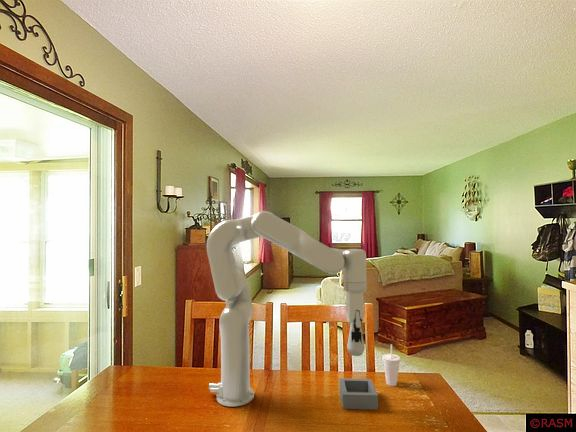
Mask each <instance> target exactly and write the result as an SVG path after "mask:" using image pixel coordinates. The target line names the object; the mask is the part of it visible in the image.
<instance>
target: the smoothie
mask: <svg viewBox="0 0 576 432" xmlns="http://www.w3.org/2000/svg"><path fill="white" fill-rule="evenodd" d="M381 359H382V361H383V368H384V375H385V383H386V385H387V386H390V387H396V386H397V384H398V379H399V377H398V376H399V369H400V363H401V357H400V356H399V355H398V354H394V353H393V344H391V343H390V353H385V354H383V355H382V358H381Z"/></svg>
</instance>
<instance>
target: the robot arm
mask: <svg viewBox="0 0 576 432" xmlns="http://www.w3.org/2000/svg"><path fill="white" fill-rule="evenodd" d="M257 238H263V239H265V240H267V241H269V242H270V243H273V244H274V245H277V246H278V247H280V248H282V249H284V250H286V251H288V252H289V253H290V254H292V255H294V256H296V257H298V258H300V259H302V260H303V261H305V262H307V264H310V265H312V266H314V267H315V268H317V269H318V270H319V269H320V270H321V271H323V272H325V273H327V274H330V275H337V274H339V273H340V272H343V292H345V318H346V320H347V322H348V323H349V325H351V322H352V331H351V339H352V341H353V340H354V341H355V342H359V339H360V341H361V343H362V335H363V333H362V334H361V330H362V324H363V323H364V321H365V307H364V305H365V304H364V303H365V302H364V300H365V298H364V293H366V292H367V287H368V286H367V253H366V250H365V249H361V248H347V249H344V248H343V249H341V248H334V247H329V246H327V245H326V244H324V243H322V242H321V241H318V240H317V239H315V238H313V237H312V236H310V235H309V234H308V233H307V232H306V231H304V230H303V229H301V228H300V227H298V226H296V225H294V224H292V223H290V222H289V221H286V220H284V219H282V218H281V217H279V216H277V215H275V214H274V213H273V212H270V211H268V210H267V211H266V210H261V211H258V212H256V213H255V214H252V215H249V216H244V217H240V218H236V219H227V220H223V221H221V222H219V223H218V224H217V225H215V226H214V227H213V228H212V230H211V231H210V233H209V235H208V237H207V240H206V253H207V258H208V262H209V265H210V272H211V276H212V281H213V286H214V291H215V294H216V295H217V298H219V299H220V300H222V301H225V307H224V309H223V310H222V312H221V314H220V316H219V326H218V327H219V334H220V382H218V383H215V382H213V383H212V382H211V383H210V382H209V385H208V390H209V391H210V393H216V401H217V403H218V404H219V405H222V406H225V407H229V408H230V407H231V408H232V407H233V408H234V407H241V406H244V405H247V404H249V403H250V402H252V401H253V399H254V397H255V391H254V389H253V388H252V387H250V386H251V385H250V381H251V380H250V372H251V371H250V334H249V333H250V332H249V326H250V325H249V324H250V321H251V318H252V317H253V314H254V306H253V300H252V297H251V294H250V288H249V283H248V280H247V277H246V276H245V274H244V272H242V271H241V270H239V269H237V263H236V259H235V255H234V253H233V246H234V245H236V244H239V243H242V242H245V241H249V240H254V239H257ZM354 320H356V322H354ZM354 324H356V325H355V326H354Z"/></svg>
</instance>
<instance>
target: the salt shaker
mask: <svg viewBox="0 0 576 432" xmlns="http://www.w3.org/2000/svg"><path fill="white" fill-rule="evenodd" d="M354 322H356V320H354ZM349 325H350V324H349ZM355 325H356V324H354V326H355ZM351 331H352V322H351V325H350V326H349V331H348V339H347V345H346V348H347V350H348V354H349V355H351V356H354V357H360V356H362V355H363V353H364V351H365V346H366V345H365V341H364V336H363V330H362V329H361V334H362V343H361V341H360V339H359V342H355V341H354V340H353V341H352V339H351Z"/></svg>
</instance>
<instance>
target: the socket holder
mask: <svg viewBox="0 0 576 432" xmlns="http://www.w3.org/2000/svg"><path fill="white" fill-rule="evenodd" d="M338 379H339V385H338V386H339V396H340V401H341V406H342V409H343V410H379V394H378V391H377V390H376V387H375V384H374V382H373V380H372V378H371V379H370V378H341V377H340V378H338Z"/></svg>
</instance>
